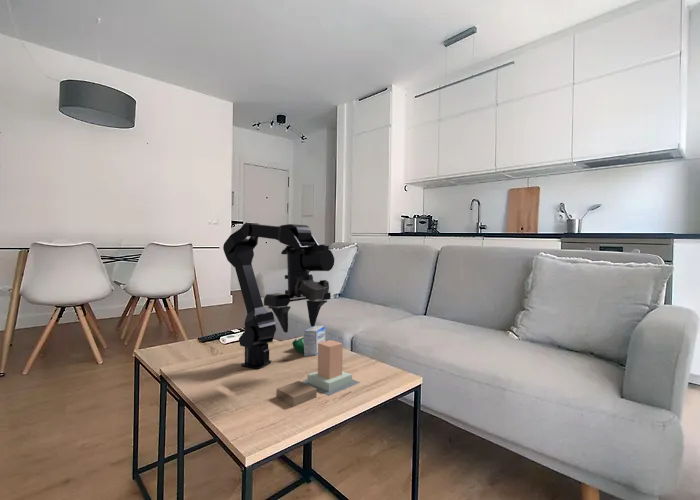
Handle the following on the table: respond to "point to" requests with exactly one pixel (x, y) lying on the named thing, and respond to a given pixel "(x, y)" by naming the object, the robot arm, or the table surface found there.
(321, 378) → the foundation slab
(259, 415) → the table surface
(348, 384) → the baseplate
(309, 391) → the walnut stand
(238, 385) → the table surface
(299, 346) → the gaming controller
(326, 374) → the terracotta brick
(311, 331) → the medicine box
